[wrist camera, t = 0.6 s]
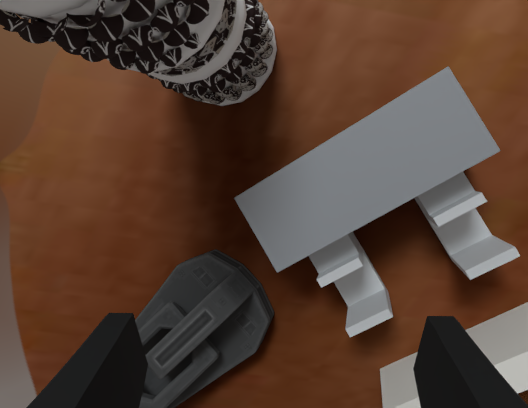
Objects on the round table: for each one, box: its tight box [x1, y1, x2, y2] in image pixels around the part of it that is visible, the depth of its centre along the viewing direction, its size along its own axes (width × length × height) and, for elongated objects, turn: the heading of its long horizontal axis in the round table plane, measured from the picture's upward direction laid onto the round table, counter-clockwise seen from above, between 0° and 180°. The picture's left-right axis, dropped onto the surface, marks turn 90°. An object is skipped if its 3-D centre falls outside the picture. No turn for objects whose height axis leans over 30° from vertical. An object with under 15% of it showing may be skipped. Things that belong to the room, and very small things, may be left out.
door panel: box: [380, 302, 528, 408], centre depth 28 cm, size 12×2×6 cm, turn 121°
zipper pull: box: [135, 250, 274, 408], centre depth 33 cm, size 9×7×25 cm
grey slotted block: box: [234, 66, 520, 337], centre depth 28 cm, size 11×14×7 cm
